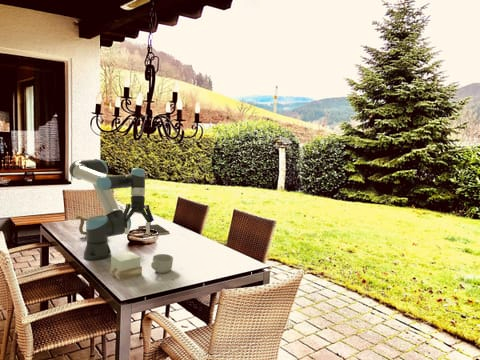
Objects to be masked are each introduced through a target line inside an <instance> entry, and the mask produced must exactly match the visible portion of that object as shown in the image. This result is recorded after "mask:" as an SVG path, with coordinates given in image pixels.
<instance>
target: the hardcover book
mask: <svg viewBox="0 0 480 360" xmlns="http://www.w3.org/2000/svg"><path fill="white" fill-rule="evenodd" d="M137 227H138V229H139V228H140V229H143V228H146V225H138V226H137ZM140 229H139V230H140ZM150 229H154V230H157V232H158V234H159V235H158V236H160V235H169V234H170V231H169V230H167V229H165V228H164V227H163V226H161V225H159V224H158V223H157V224H156V223H155V224H151V228H150Z"/></svg>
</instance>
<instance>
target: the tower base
mask: <svg viewBox="0 0 480 360" xmlns="http://www.w3.org/2000/svg"><path fill="white" fill-rule="evenodd" d="M142 272H143V267H142V266H141V265H140V267H136V268H132V269H127V270H123V271H120V270H118V269H117V268H115V267H114V266H112V265H111V264H109V274H110V275H111V274H112V275H111V276H113V277H114V278H115V279H118V280H119V281H124V280H127V279H132V278H135V277H136V278H137V277H139V276H142V275H143V273H142Z"/></svg>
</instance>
